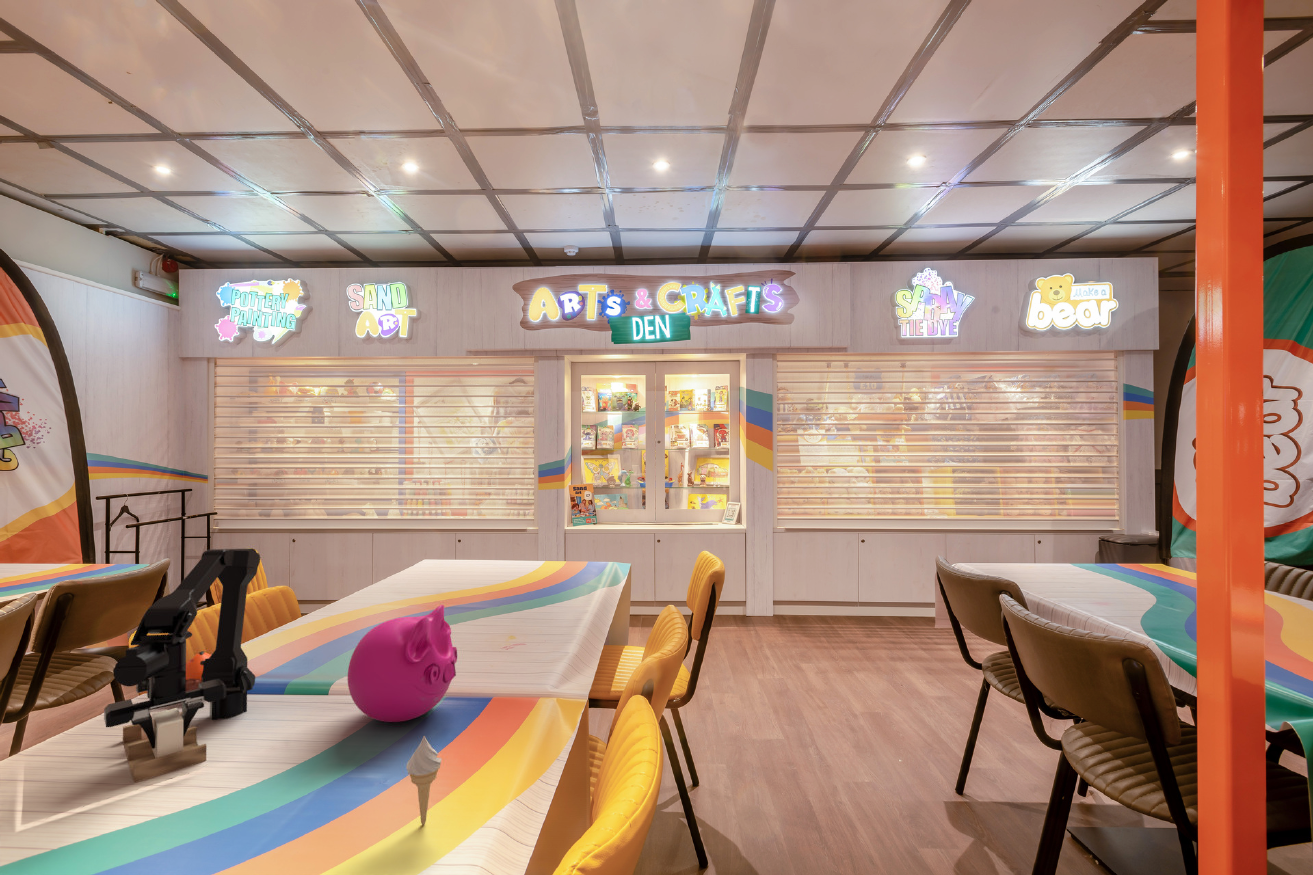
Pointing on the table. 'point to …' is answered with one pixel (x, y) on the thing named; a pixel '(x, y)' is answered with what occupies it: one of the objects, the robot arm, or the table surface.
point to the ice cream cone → (423, 773)
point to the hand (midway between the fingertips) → (167, 743)
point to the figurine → (403, 667)
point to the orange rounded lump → (195, 670)
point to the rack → (149, 766)
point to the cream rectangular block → (167, 732)
